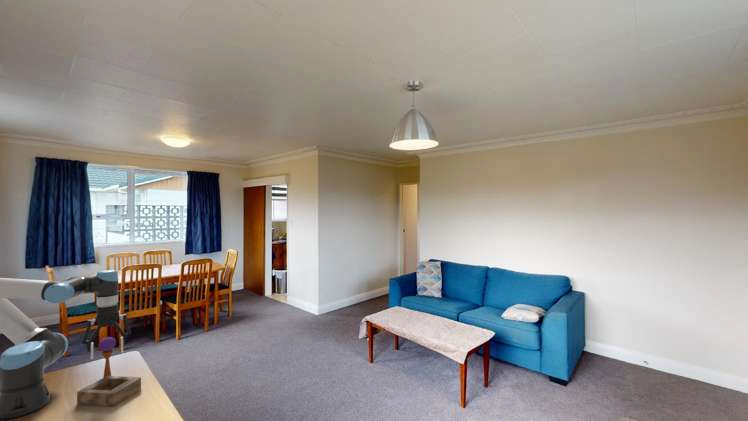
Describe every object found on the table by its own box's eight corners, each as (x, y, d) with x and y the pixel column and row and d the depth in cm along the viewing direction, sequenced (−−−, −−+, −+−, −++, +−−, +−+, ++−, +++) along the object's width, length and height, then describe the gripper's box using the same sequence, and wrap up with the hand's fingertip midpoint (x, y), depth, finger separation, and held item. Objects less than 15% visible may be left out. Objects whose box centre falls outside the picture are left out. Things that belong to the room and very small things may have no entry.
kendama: (103, 386, 143) (104, 340, 143) (95, 384, 145) (95, 338, 145) (118, 380, 148) (118, 336, 148) (110, 378, 150) (110, 334, 151)
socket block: (76, 404, 129) (77, 391, 129) (107, 387, 142) (107, 375, 142) (113, 406, 127) (113, 393, 127) (140, 389, 140) (141, 377, 140)
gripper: (73, 311, 137) (72, 365, 137) (138, 302, 151) (138, 350, 151) (74, 307, 143) (74, 359, 143) (137, 299, 157) (137, 346, 157)
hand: (107, 355), depth 147 cm, fingers open, 10 cm apart
